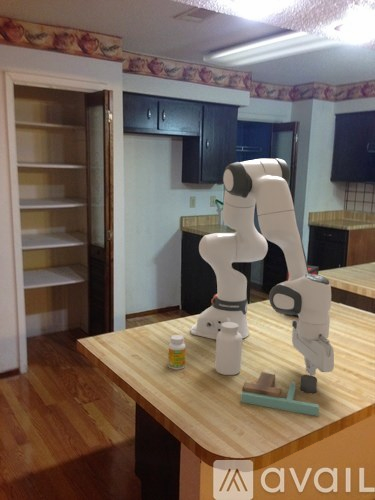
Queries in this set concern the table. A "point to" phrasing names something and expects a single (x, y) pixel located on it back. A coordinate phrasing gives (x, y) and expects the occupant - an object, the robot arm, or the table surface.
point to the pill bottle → (228, 349)
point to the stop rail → (281, 402)
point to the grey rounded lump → (308, 384)
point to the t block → (263, 386)
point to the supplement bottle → (176, 352)
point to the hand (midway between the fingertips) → (310, 373)
